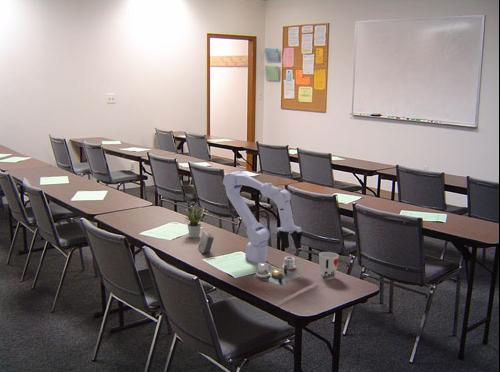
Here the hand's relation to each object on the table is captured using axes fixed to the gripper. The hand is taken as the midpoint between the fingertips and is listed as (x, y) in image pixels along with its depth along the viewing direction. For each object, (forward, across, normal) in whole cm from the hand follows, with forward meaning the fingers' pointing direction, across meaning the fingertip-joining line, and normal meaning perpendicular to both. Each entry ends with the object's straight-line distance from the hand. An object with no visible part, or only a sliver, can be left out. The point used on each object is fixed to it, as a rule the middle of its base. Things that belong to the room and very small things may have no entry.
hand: (292, 248), depth 228 cm
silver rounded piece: (+7, +1, +18) cm, 19 cm away
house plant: (-7, +68, +8) cm, 69 cm away
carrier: (+10, -2, +13) cm, 16 cm away
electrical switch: (-2, +45, +18) cm, 48 cm away
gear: (+9, +4, +1) cm, 10 cm away
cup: (+14, -12, -6) cm, 20 cm away
